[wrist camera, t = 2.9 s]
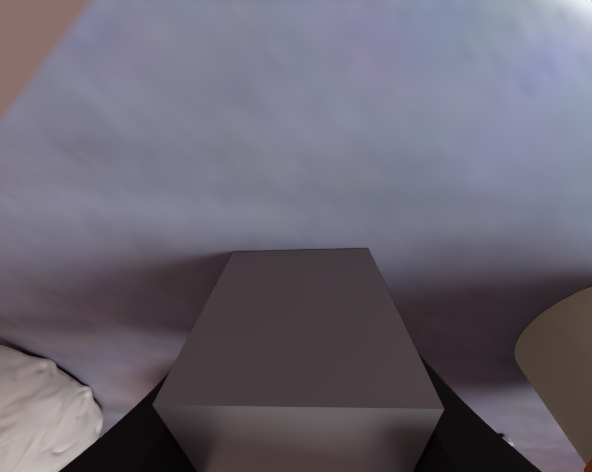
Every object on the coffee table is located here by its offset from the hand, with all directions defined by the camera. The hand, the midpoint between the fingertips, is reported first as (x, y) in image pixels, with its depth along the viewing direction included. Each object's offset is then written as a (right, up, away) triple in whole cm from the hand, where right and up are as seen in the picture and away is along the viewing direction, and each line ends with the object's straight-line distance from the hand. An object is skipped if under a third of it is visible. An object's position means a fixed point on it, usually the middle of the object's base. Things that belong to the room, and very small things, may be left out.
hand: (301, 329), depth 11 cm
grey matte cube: (0, +1, +2) cm, 2 cm away
